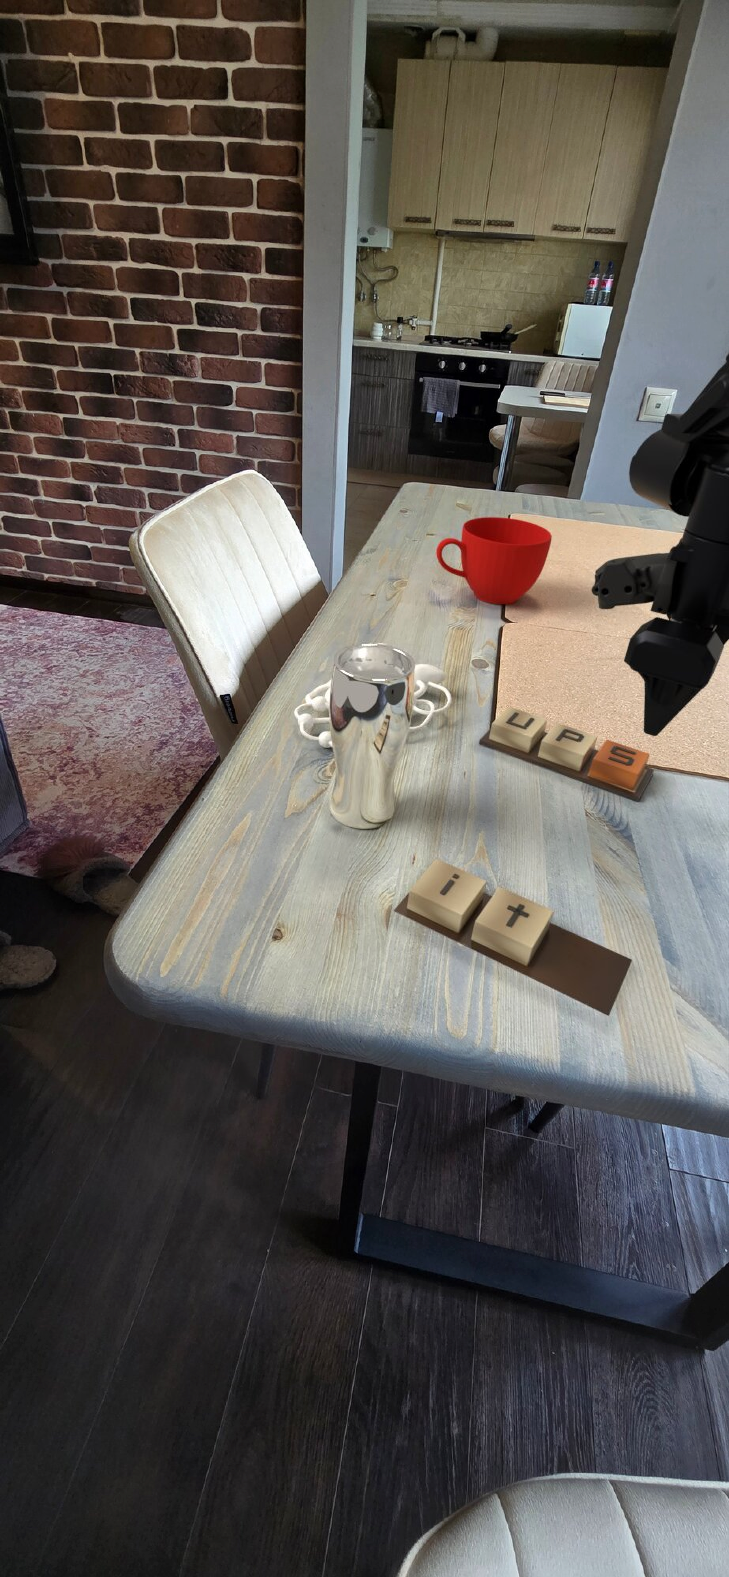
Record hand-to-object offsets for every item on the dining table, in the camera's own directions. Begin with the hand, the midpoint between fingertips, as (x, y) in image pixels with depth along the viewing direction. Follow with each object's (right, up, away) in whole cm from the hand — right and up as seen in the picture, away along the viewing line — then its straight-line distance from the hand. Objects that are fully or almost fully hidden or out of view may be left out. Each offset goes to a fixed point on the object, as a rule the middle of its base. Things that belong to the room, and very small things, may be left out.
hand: (663, 712), depth 65 cm
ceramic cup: (-8, +22, +47) cm, 53 cm away
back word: (-6, -4, +12) cm, 13 cm away
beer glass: (-27, -9, +3) cm, 28 cm away
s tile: (-1, -5, +9) cm, 11 cm away
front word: (-15, -18, -9) cm, 26 cm away
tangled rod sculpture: (-25, +2, +17) cm, 30 cm away
